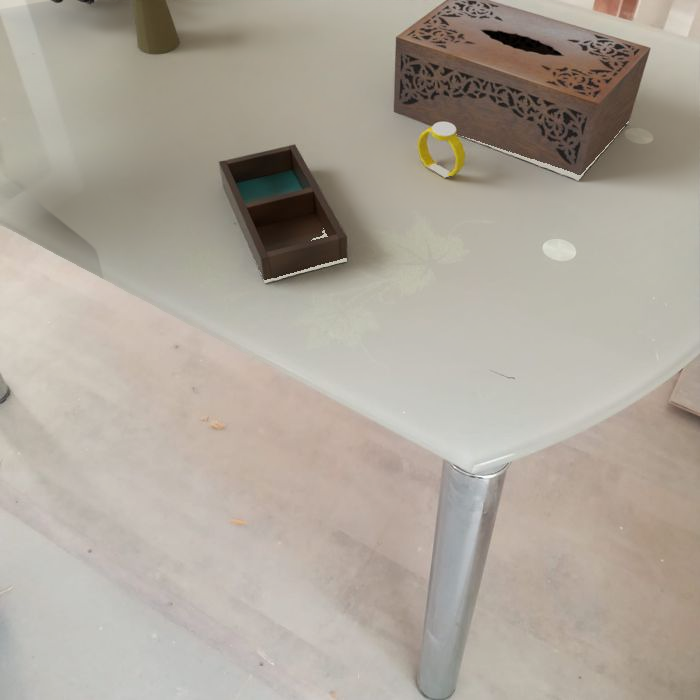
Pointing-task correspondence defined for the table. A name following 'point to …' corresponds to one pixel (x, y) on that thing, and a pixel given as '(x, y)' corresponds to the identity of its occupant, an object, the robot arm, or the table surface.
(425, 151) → the watch
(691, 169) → the table surface
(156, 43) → the olive peg doll
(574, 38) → the tissue box cover
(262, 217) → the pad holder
